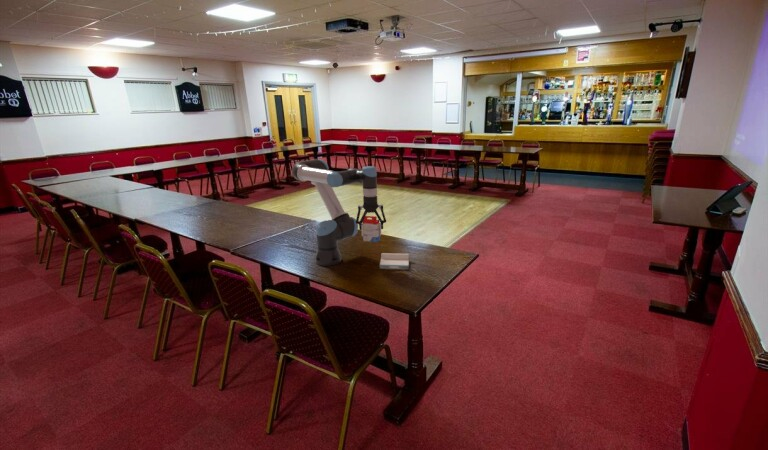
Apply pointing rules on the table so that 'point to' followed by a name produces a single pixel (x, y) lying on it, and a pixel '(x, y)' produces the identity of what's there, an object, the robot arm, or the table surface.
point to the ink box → (371, 229)
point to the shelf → (394, 261)
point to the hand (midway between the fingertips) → (371, 235)
